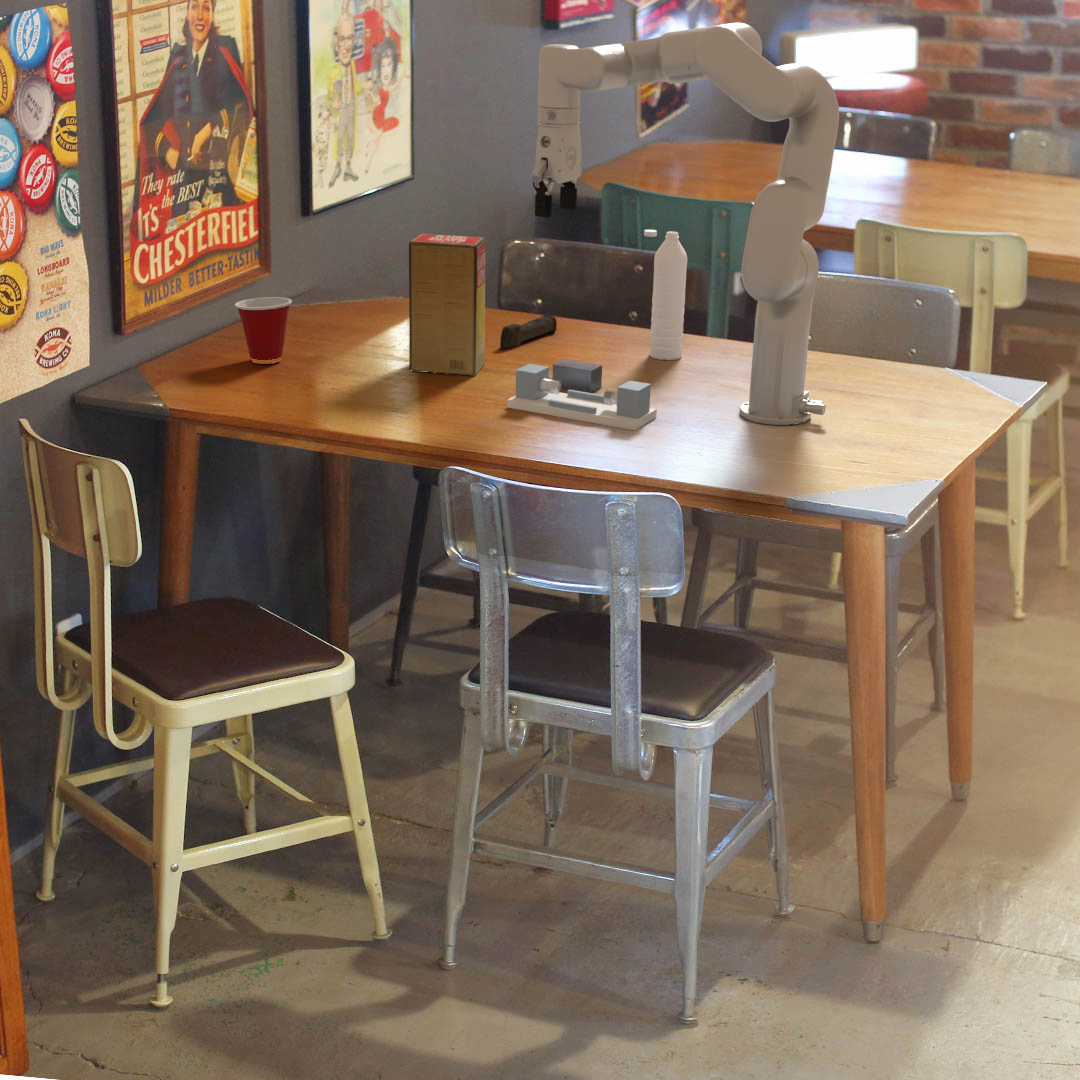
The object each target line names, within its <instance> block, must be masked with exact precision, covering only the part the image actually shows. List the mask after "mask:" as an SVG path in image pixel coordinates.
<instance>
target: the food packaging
mask: <svg viewBox="0 0 1080 1080" xmlns="http://www.w3.org/2000/svg"><path fill="white" fill-rule="evenodd" d="M486 254H487V238H486V237H484V236H464V235H449V234H448V235H446V234H430V233H419V234H418V235H416V236H415V237H413V238H412V239H411V240H410V241H409V242H408V298H409V299H408V300H409V301H408V303H409V304H408V305H409V307H408V308H409V309H408V310H409V321H408V323H409V331H408V332H409V333H408V334H409V336H408V337H409V342H408V343H409V347H408V348H409V356H408V357H409V363H408V364H409V365H408V366H409V367H408V368H409V370H412V371H428V372H436V373H448V374H447V375H449V374H459V375H458V376H461V375H470V376H469V377H476V376H477V374H478V373H479V372H480V371H481V369H482V368H483V367H484V366H485V345H486V344H485V342H486V341H485V339H486V338H485V337H486V331H485V330H486V329H485V328H486V271H487V270H486V265H487V264H486V263H487V261H486V260H487V257H486V256H487V255H486ZM483 365H484V366H483ZM482 366H483V367H482Z"/></svg>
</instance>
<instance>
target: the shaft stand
mask: <svg viewBox="0 0 1080 1080" xmlns="http://www.w3.org/2000/svg"><path fill="white" fill-rule="evenodd" d="M549 378H550V367H549V366H545V365H540V364H539V365H538V364H533V363H528V364H526V365H523V366H522V367H519V368H517V369H516V371H515V395H514V396H511V397H509V398H508V399H507V408H509V409H513V410H520V411H525V412H531V413H535V414H542V415H546V416H547V415H548V416H552V417H557V418H558V417H559V418H565V419H568V420H574V421H580V422H585V423H591V424H598V425H602V426H607V427H614V428H619V429H624V430H630V431H637V430H638V429H640V428H641V427H643V426H644V425H646V424H648V423H650V422H651V421H653V420H655V419H656V418H657V412H658V411H657V408H653V407H650V405H651V389H652V388H651V387H652V384H651V383H648V382H640V381H637V380H636V381H635V380H628V381H626V382H625V383H622V384H621V385H619V386H618V387H617V390H613V389H606V390H605V392H604V394H598V393H594V392H592V393H587V392H581V391H575V390H568V389H567V393H566V392H561V390H562V388H561V382H560V381H555V380H552V379H549Z"/></svg>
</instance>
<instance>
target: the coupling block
mask: <svg viewBox="0 0 1080 1080" xmlns="http://www.w3.org/2000/svg"><path fill="white" fill-rule="evenodd" d="M602 377H603V364H599V363H593V362H592V363H591V362H584V361H580V360H574V359H573V360H572V359H567V358H563V359H561V360H559V361H557V362H555V363H553V364H552V377H551V380H555V381H560V382H561V390H562V389H564V390H567V391H568V390H575V391H581V392H587V393H594V392H596V391H598V390H601V388H602V379H603V378H602Z"/></svg>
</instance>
